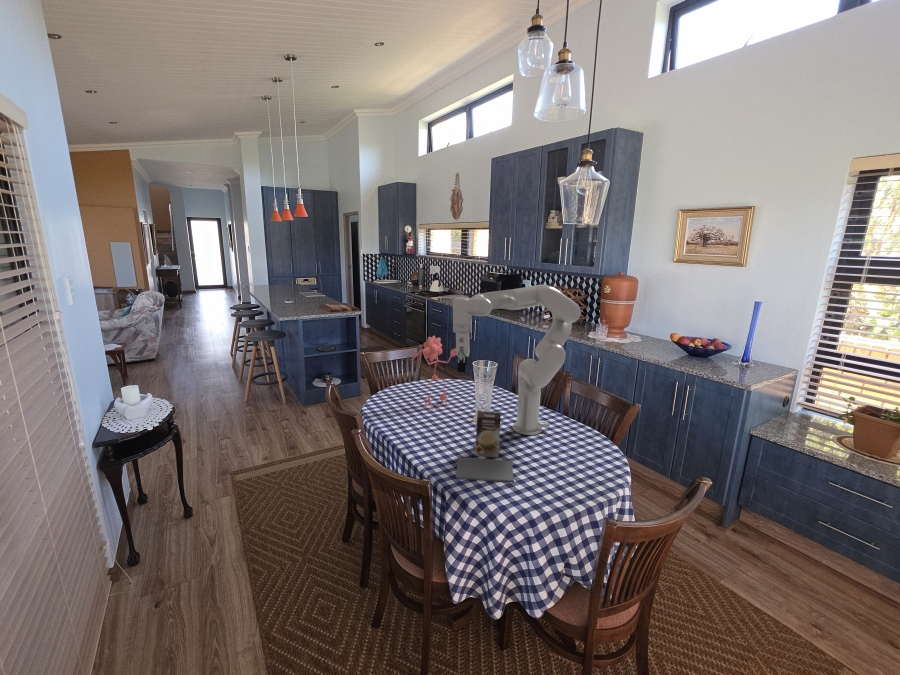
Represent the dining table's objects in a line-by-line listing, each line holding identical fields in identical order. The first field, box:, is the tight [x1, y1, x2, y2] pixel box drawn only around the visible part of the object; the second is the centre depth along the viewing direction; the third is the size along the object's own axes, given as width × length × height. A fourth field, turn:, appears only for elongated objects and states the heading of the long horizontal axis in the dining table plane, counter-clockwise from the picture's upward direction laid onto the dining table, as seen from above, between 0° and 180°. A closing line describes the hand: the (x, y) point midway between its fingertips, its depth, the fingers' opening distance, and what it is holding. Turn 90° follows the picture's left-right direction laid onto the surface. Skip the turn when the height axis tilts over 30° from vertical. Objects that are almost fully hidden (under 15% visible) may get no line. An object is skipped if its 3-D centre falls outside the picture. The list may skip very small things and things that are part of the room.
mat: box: [455, 457, 515, 483], centre depth 158 cm, size 20×14×1 cm
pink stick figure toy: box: [410, 335, 457, 411], centre depth 217 cm, size 15×26×35 cm, turn 131°
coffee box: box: [474, 410, 502, 458], centre depth 169 cm, size 9×6×16 cm
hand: (462, 368), depth 182 cm, fingers open, 9 cm apart
